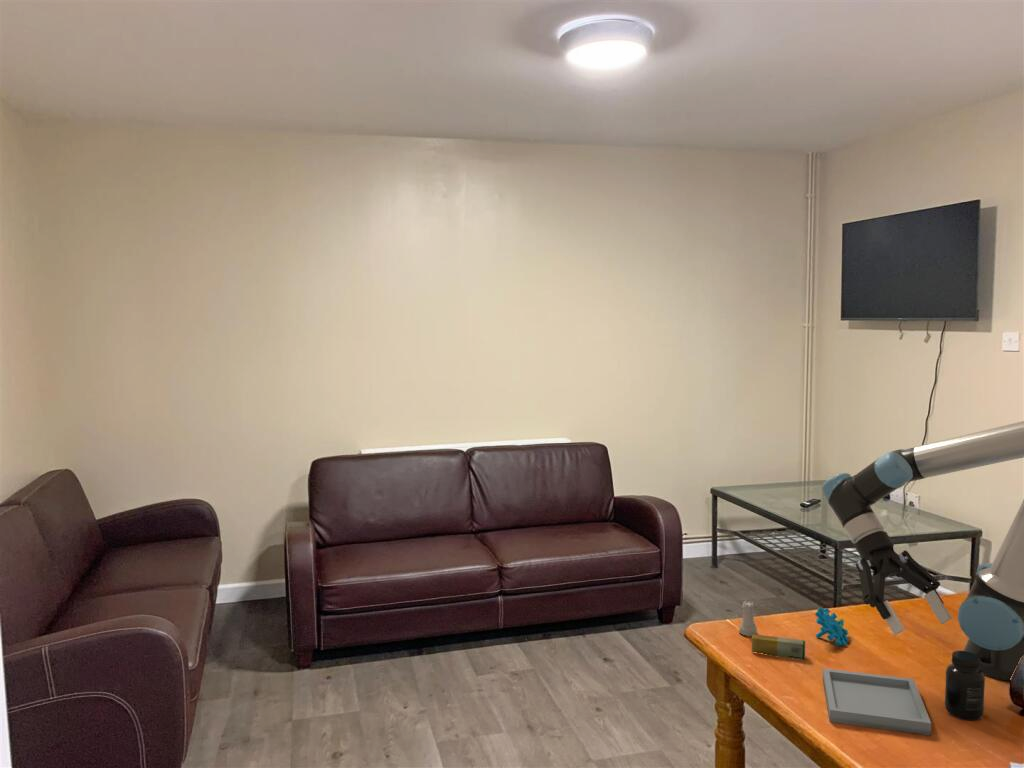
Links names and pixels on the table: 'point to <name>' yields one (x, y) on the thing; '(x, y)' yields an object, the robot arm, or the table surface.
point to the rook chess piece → (748, 620)
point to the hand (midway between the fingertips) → (923, 626)
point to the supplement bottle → (965, 686)
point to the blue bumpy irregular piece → (831, 627)
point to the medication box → (779, 646)
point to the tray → (875, 701)
